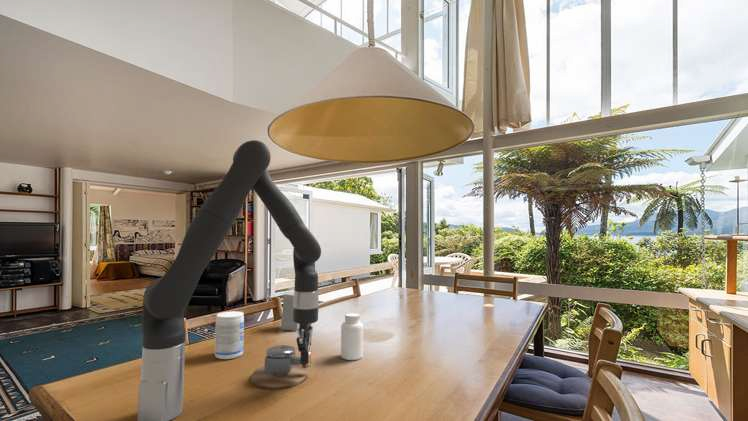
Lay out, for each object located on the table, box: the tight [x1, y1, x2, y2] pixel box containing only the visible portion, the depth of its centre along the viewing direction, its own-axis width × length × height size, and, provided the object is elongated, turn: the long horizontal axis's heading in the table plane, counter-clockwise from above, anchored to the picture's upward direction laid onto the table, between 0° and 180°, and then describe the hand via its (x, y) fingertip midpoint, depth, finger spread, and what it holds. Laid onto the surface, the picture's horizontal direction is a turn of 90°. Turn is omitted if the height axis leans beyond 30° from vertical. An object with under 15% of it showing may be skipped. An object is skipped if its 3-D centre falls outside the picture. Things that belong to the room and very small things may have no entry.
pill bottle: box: [340, 313, 364, 361], centre depth 131 cm, size 8×8×15 cm
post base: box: [250, 365, 309, 390], centre depth 113 cm, size 18×17×6 cm
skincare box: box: [280, 292, 300, 332], centre depth 165 cm, size 8×7×16 cm
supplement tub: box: [214, 310, 245, 360], centre depth 130 cm, size 10×10×15 cm
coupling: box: [264, 345, 312, 372], centre depth 113 cm, size 14×9×5 cm, turn 90°
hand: (304, 363), depth 109 cm, fingers closed
